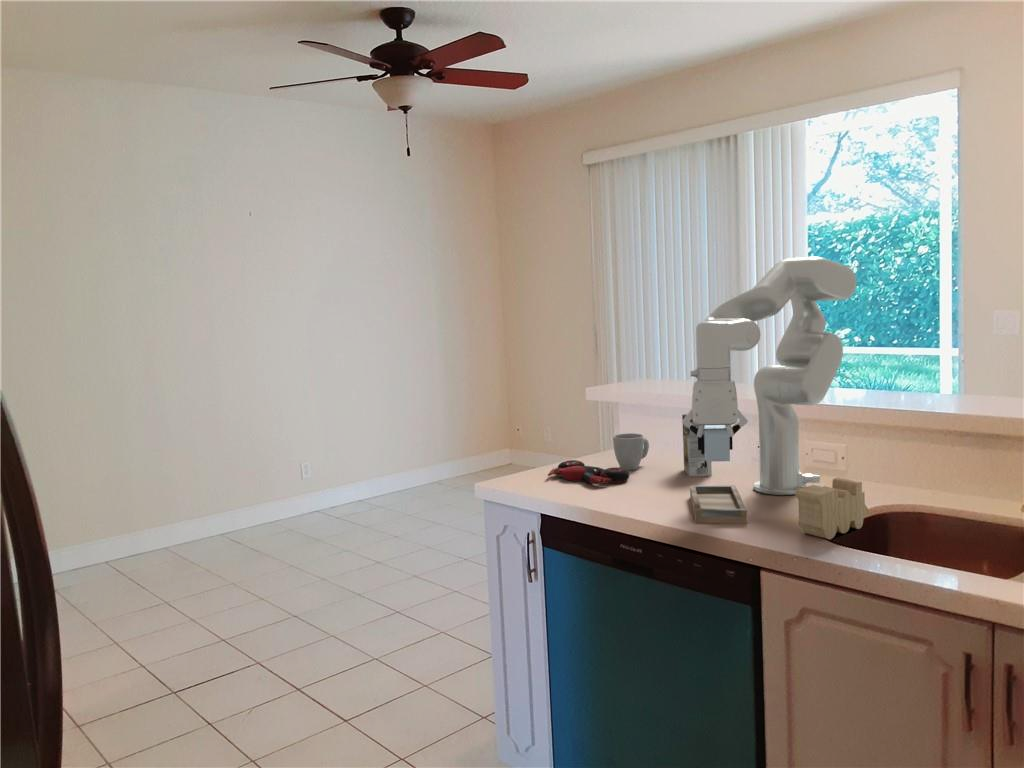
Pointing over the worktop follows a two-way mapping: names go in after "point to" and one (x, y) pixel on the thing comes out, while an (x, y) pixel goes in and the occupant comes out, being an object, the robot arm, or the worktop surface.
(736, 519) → the cradle
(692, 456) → the coffee box
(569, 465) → the toy motorcycle
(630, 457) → the mug
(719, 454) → the light blue block
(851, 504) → the toy train
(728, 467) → the worktop surface
